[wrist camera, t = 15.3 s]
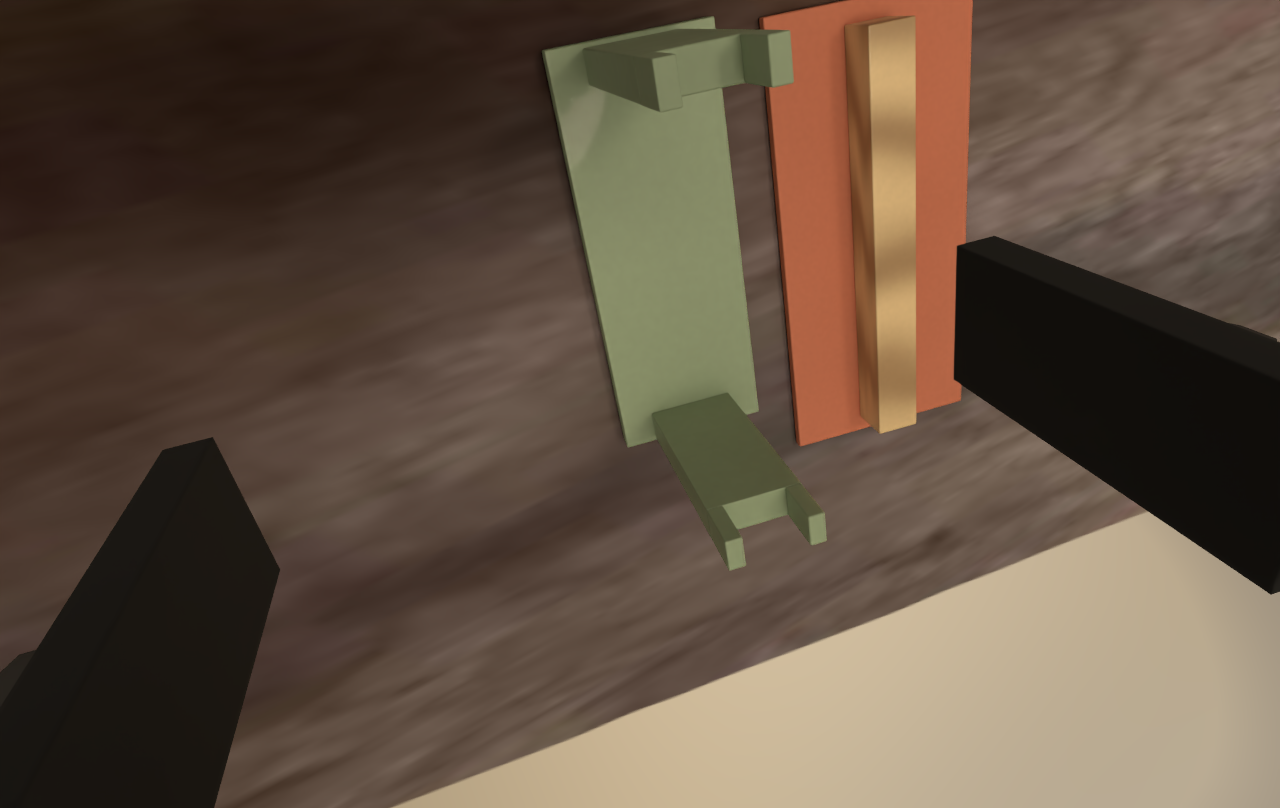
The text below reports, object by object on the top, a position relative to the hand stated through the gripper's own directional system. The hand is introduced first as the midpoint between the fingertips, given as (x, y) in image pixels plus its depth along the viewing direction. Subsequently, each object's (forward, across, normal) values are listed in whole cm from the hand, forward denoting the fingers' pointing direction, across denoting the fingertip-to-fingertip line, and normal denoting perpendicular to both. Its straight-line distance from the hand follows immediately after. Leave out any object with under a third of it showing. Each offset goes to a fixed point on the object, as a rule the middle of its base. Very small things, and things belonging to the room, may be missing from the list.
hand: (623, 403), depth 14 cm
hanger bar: (+26, +19, -8) cm, 33 cm away
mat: (+27, +19, -8) cm, 34 cm away
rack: (+27, +7, -6) cm, 28 cm away
